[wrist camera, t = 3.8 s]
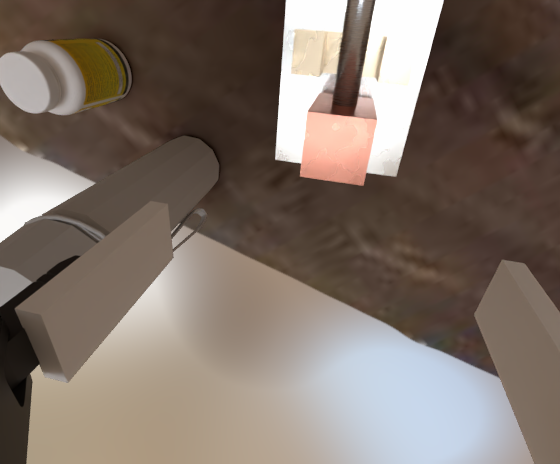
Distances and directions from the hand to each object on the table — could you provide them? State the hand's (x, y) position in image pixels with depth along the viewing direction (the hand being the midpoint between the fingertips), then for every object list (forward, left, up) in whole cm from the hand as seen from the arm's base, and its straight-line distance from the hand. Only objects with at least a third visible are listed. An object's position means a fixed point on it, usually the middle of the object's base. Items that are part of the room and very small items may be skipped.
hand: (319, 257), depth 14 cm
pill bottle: (-2, -26, -25) cm, 36 cm away
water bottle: (+8, -16, -25) cm, 31 cm away
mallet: (-10, 0, -23) cm, 25 cm away
